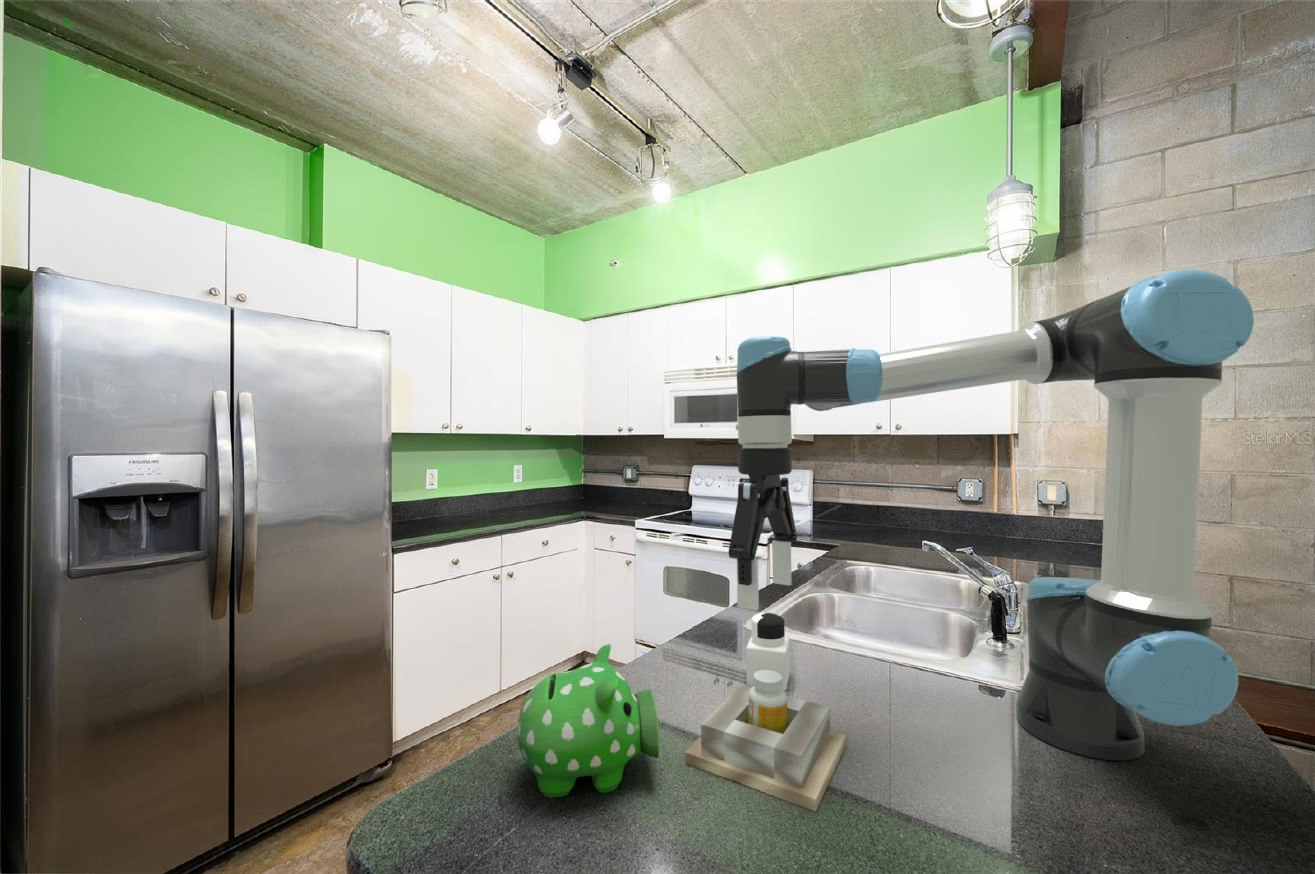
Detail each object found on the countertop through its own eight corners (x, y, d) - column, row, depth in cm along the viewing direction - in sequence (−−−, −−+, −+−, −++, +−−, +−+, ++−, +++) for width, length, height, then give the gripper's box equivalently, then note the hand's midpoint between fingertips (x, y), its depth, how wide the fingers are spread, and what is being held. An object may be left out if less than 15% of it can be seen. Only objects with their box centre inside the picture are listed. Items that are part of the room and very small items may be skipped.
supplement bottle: (740, 741, 74) (740, 674, 74) (764, 728, 78) (764, 664, 78) (771, 759, 70) (770, 688, 70) (795, 744, 74) (794, 676, 74)
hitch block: (846, 745, 76) (845, 707, 76) (815, 811, 62) (815, 765, 62) (732, 711, 85) (732, 678, 86) (685, 762, 72) (684, 723, 72)
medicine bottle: (789, 674, 99) (789, 611, 99) (786, 691, 92) (785, 624, 92) (752, 669, 101) (751, 608, 101) (746, 685, 95) (745, 620, 95)
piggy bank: (662, 803, 64) (661, 681, 64) (511, 821, 61) (510, 693, 61) (647, 738, 78) (646, 638, 78) (523, 750, 75) (523, 646, 76)
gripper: (769, 445, 87) (771, 572, 87) (700, 448, 66) (702, 615, 66) (814, 445, 83) (816, 578, 83) (756, 447, 62) (759, 626, 62)
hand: (766, 595), depth 74 cm, fingers open, 13 cm apart
